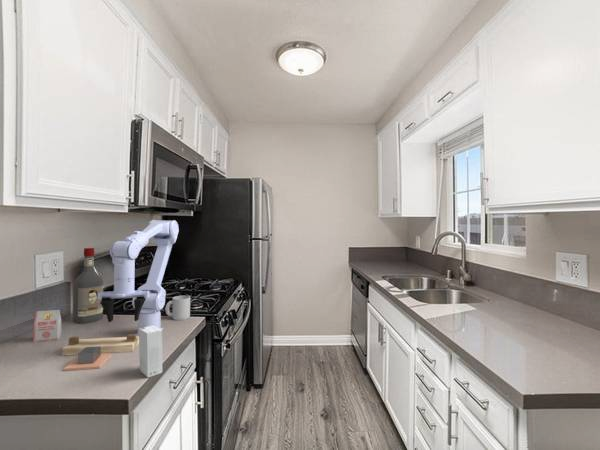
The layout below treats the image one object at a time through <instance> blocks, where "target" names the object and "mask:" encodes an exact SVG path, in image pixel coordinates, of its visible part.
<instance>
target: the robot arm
mask: <svg viewBox="0 0 600 450" xmlns="http://www.w3.org/2000/svg"><path fill="white" fill-rule="evenodd" d="M179 231H180V229H179V224H178V221H176V220H175V219H174V220H163V219H162V220H157V219H151V220H150V221H149V222H148V226H147V227H145V228H144V229H143V230H142V231H141V230H140V231H139V230H135V231H133V232H132V234H131V235H129V236H126V237H125V238H124V239H123V240H116V242H114V243H113V244H111V247H110V250H109V254H110V257H111V259H112V262H111V263H112V264H113V265H114V267H113V269H114V271H113V276H114V278H113V290H112V291H103V292H100V293H98V299H102V301H101V302H100V303H101V305H102V307H103V311H104V312H105V314H106V318H107V321H108V323H111V322H112V321H114V305H115V299H132V302H131V303H132V306H133V307H132V308H133V309H134V321H135V322H137V333H135V334H136V336H139V329H140V328H144V327H148V326H152V325H154V326H155V327H157V328H159V329H160V330H162V331H163V330H164V327H161V322H162V319H161V317H162V314H161V310H162V309H163V308H164V306H165V305H166V304H165V303H166V294H167V291H166V289H164V287H162V283H163V282H162V281H163V279H164V275H165V271H166V268H167V265H168V262H169V258H170V255H171V252H172V248H173V245H174V244H175V243H176V241H177V239H178V235H179ZM150 239H152V242H153V243H154V244H157V247H156V251H155V254H154V257H153V259H152V260H153V261H152V263H151V266H150V269H149V272H148V275H147V280H146V282H145V283H144V284H142V285H141V286H139V287H138V288H137V290H135V269H136V267H135V263H136V259H137V258H138V256H139V255H140V252H141V250H142V249H143V248H144V247H146V246H147V245H148V244H149V240H150Z"/></svg>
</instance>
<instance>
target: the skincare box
mask: <svg viewBox="0 0 600 450" xmlns="http://www.w3.org/2000/svg"><path fill="white" fill-rule="evenodd" d="M138 346H139V347H138V348H139V354H138V355H139V371H140V372H141V373H142V374H143V375H144V376H146V378H151V377H155V376H157V375H161V374H162V373H163V330H160V329H159V328H157V327H155V326H154V325H152V326H148V327H144V328H140V329H139V344H138Z"/></svg>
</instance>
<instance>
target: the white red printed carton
mask: <svg viewBox="0 0 600 450" xmlns="http://www.w3.org/2000/svg"><path fill="white" fill-rule="evenodd" d="M32 327H33V332H32V334H33V335H32V336H33V337H32V338H33V339H32V340H33V341H41V342H46V341H45V340H51V341H58V340H59V339H60V338H61V337H62V316H61V310H60V309H51V310H38V311H35V316H34V322H33V325H32ZM33 341H32V342H33Z"/></svg>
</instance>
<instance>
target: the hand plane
mask: <svg viewBox="0 0 600 450" xmlns="http://www.w3.org/2000/svg"><path fill="white" fill-rule="evenodd" d="M136 334H137V333H129V334H127V336H122V337H121V336H120V337H117V336H116V337H96V338H81V339H80V336H71V337H69V338H68V344H66V345H65V346H64V347H63V348H61V356H64V355H66V356H78V353H80V352H81V351H82V350H83V349H84V348H86V347H96V346H101V354H104V353H114V354H115V353H130V352H134V350H135V349H136V348H137V347H138V346H139V336H136Z"/></svg>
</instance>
